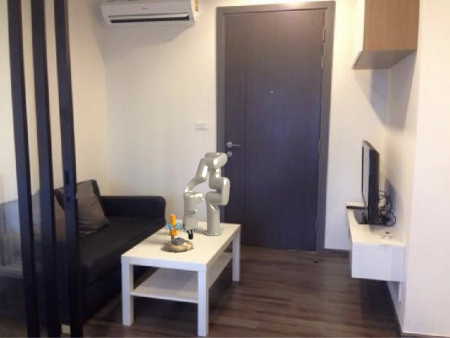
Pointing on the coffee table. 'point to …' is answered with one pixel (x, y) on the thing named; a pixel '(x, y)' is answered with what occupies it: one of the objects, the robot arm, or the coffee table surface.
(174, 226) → the cylinder
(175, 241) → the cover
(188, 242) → the turntable
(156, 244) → the coffee table surface
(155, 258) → the coffee table surface
